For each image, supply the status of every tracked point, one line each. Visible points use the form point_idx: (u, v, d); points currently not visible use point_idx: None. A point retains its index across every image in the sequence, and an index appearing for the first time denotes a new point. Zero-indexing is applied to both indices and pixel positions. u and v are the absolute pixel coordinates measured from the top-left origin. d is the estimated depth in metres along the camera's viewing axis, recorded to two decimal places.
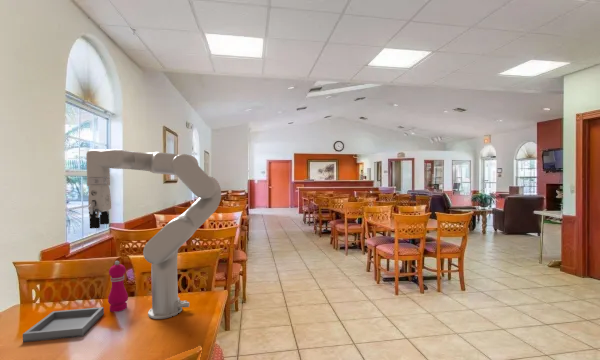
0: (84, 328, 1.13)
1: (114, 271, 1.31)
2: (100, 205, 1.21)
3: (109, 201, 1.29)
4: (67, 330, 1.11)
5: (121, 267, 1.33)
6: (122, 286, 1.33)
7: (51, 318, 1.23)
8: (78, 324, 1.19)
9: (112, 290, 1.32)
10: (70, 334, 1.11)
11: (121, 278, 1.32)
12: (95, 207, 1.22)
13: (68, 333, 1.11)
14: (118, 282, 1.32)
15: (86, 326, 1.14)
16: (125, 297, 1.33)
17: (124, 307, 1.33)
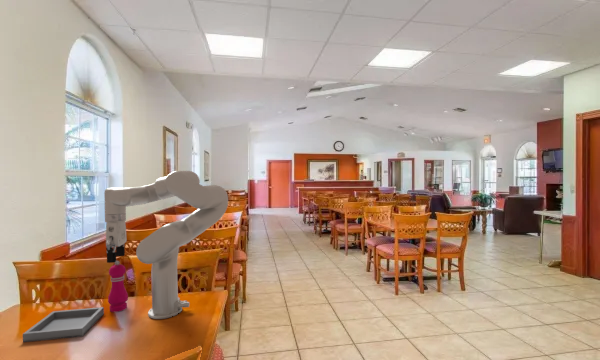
0: (84, 328, 1.13)
1: (114, 271, 1.31)
2: (117, 241, 1.29)
3: (125, 235, 1.36)
4: (67, 330, 1.11)
5: (121, 267, 1.33)
6: (122, 286, 1.33)
7: (51, 318, 1.23)
8: (78, 324, 1.19)
9: (112, 290, 1.32)
10: (70, 334, 1.11)
11: (121, 278, 1.32)
12: (112, 242, 1.30)
13: (68, 333, 1.11)
14: (118, 282, 1.32)
15: (86, 326, 1.14)
16: (125, 297, 1.33)
17: (124, 307, 1.33)
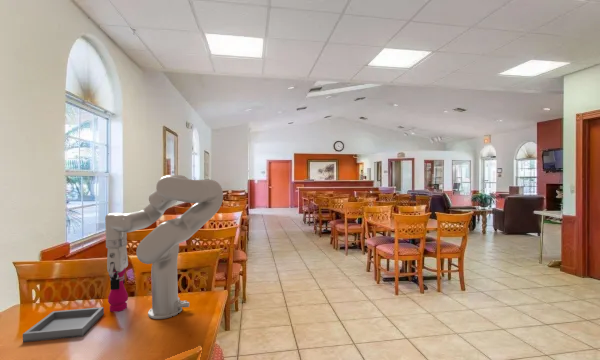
0: (84, 328, 1.13)
1: (114, 271, 1.31)
2: (118, 266, 1.29)
3: (126, 259, 1.36)
4: (67, 330, 1.11)
5: None
6: (122, 286, 1.33)
7: (51, 318, 1.23)
8: (78, 324, 1.19)
9: (112, 290, 1.32)
10: (70, 334, 1.11)
11: (121, 278, 1.32)
12: (113, 268, 1.30)
13: (68, 333, 1.11)
14: None
15: (86, 326, 1.14)
16: (125, 297, 1.33)
17: (124, 307, 1.33)
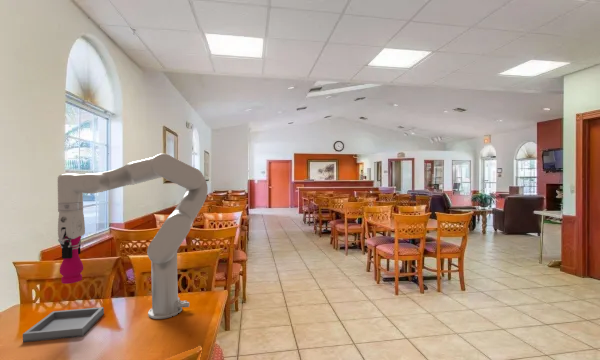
0: (84, 328, 1.13)
1: (67, 238, 1.17)
2: (70, 232, 1.15)
3: (82, 227, 1.23)
4: (67, 330, 1.11)
5: None
6: (76, 255, 1.20)
7: (51, 318, 1.23)
8: (78, 324, 1.19)
9: (64, 259, 1.18)
10: (70, 334, 1.11)
11: (75, 246, 1.19)
12: None
13: (68, 333, 1.11)
14: None
15: (86, 326, 1.14)
16: (79, 268, 1.19)
17: (78, 279, 1.19)
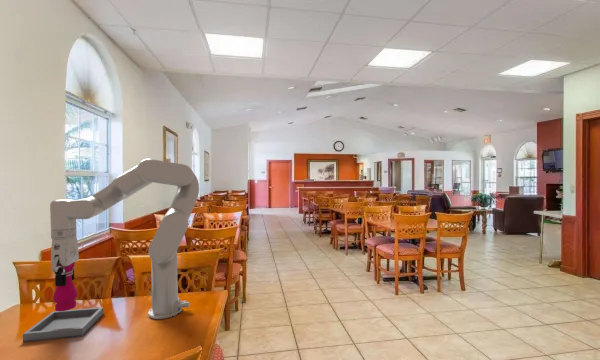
0: (84, 328, 1.13)
1: (60, 265, 1.15)
2: (63, 260, 1.13)
3: (76, 252, 1.21)
4: (67, 330, 1.11)
5: None
6: (70, 282, 1.18)
7: (51, 318, 1.23)
8: (78, 324, 1.19)
9: (58, 287, 1.16)
10: (70, 334, 1.11)
11: (68, 273, 1.17)
12: (59, 261, 1.15)
13: (68, 333, 1.11)
14: None
15: (86, 326, 1.14)
16: (73, 295, 1.18)
17: (72, 306, 1.18)
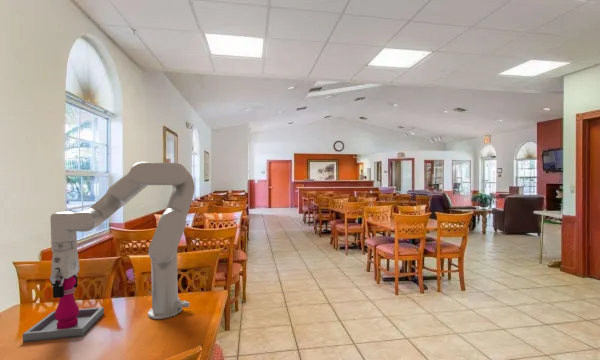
0: (84, 328, 1.13)
1: None
2: (64, 273, 1.14)
3: (76, 264, 1.21)
4: (67, 330, 1.11)
5: (70, 278, 1.17)
6: (71, 299, 1.18)
7: (51, 318, 1.23)
8: (78, 324, 1.19)
9: (59, 304, 1.16)
10: (70, 334, 1.11)
11: (70, 291, 1.17)
12: (59, 274, 1.15)
13: (68, 333, 1.11)
14: (66, 295, 1.17)
15: (86, 326, 1.14)
16: (75, 312, 1.18)
17: (74, 323, 1.18)
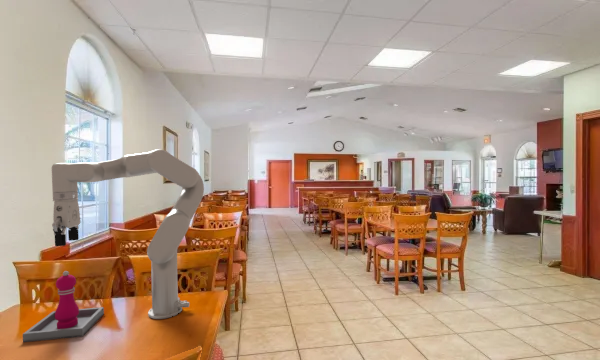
0: (84, 328, 1.13)
1: (62, 283, 1.15)
2: (66, 221, 1.15)
3: (77, 216, 1.22)
4: (67, 330, 1.11)
5: (70, 278, 1.17)
6: (71, 300, 1.18)
7: (51, 318, 1.23)
8: (78, 324, 1.19)
9: (59, 304, 1.16)
10: (70, 334, 1.11)
11: (70, 291, 1.17)
12: (61, 223, 1.16)
13: (68, 333, 1.11)
14: (66, 295, 1.17)
15: (86, 326, 1.14)
16: (75, 312, 1.18)
17: (74, 323, 1.18)
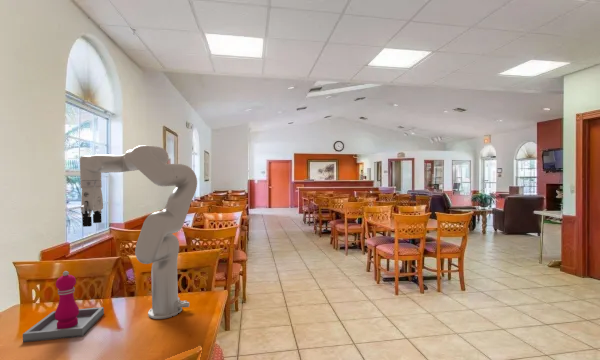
0: (84, 328, 1.13)
1: (62, 283, 1.15)
2: (92, 205, 1.34)
3: (101, 202, 1.41)
4: (67, 330, 1.11)
5: (70, 278, 1.17)
6: (71, 300, 1.18)
7: (51, 318, 1.23)
8: (78, 324, 1.19)
9: (59, 304, 1.16)
10: (70, 334, 1.11)
11: (70, 291, 1.17)
12: (87, 207, 1.35)
13: (68, 333, 1.11)
14: (66, 295, 1.17)
15: (86, 326, 1.14)
16: (75, 312, 1.18)
17: (74, 323, 1.18)
